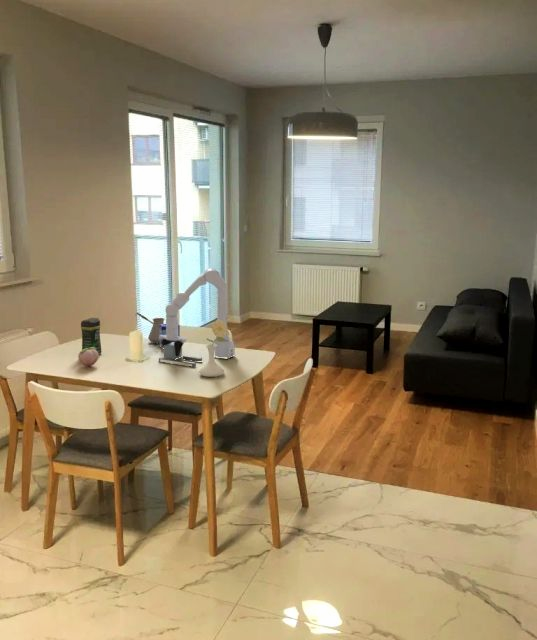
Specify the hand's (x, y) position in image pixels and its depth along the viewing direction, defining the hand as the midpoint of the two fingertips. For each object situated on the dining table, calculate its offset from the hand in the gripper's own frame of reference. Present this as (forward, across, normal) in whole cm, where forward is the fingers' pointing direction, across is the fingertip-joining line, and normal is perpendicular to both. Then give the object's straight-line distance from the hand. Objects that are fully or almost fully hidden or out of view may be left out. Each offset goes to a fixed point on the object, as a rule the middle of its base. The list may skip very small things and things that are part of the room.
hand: (172, 355), depth 301 cm
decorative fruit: (+2, -26, -30) cm, 40 cm away
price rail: (+2, +8, -4) cm, 9 cm away
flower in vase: (+2, +32, -14) cm, 35 cm away
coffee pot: (+2, -30, +24) cm, 38 cm away
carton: (+2, 0, 0) cm, 2 cm away
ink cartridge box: (+2, -14, +18) cm, 22 cm away
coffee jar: (+2, -39, -14) cm, 41 cm away
